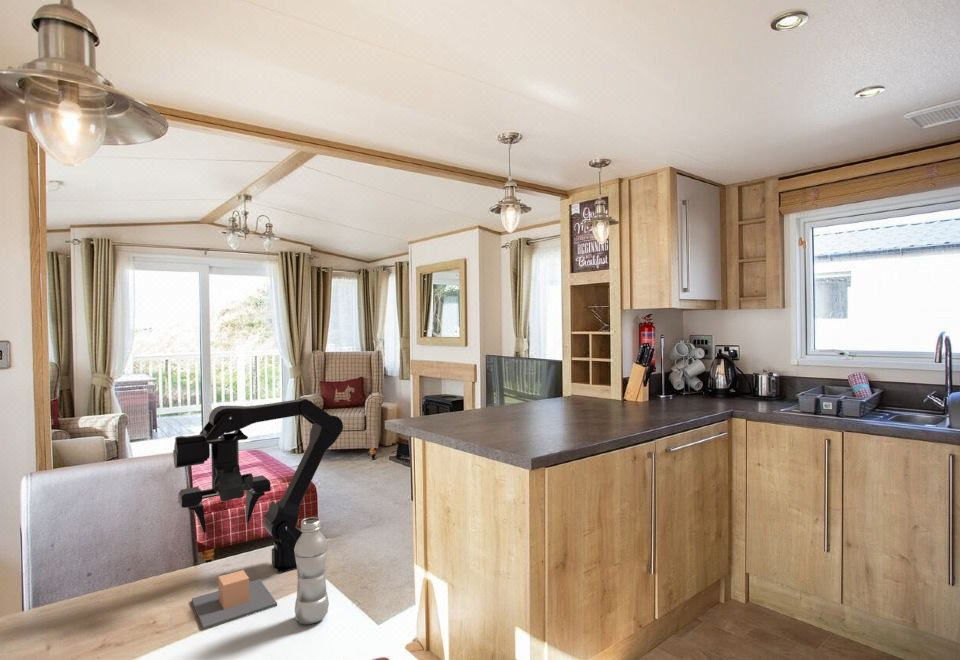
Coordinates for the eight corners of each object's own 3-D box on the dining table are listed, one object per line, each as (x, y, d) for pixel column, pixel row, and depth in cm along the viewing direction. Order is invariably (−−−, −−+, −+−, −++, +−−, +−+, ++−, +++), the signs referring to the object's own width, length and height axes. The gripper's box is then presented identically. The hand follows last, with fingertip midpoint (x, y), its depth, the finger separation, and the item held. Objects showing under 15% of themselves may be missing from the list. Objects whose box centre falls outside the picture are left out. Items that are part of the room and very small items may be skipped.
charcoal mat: (259, 581, 121) (259, 578, 121) (277, 605, 110) (277, 603, 110) (191, 601, 113) (191, 598, 113) (203, 630, 102) (203, 626, 102)
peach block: (243, 592, 115) (243, 569, 115) (249, 601, 111) (248, 578, 111) (218, 599, 112) (218, 576, 112) (223, 609, 108) (223, 585, 108)
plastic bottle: (287, 624, 103) (285, 523, 103) (313, 607, 109) (311, 512, 109) (311, 632, 100) (309, 529, 100) (336, 614, 106) (334, 517, 106)
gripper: (185, 475, 109) (186, 549, 109) (276, 460, 120) (278, 527, 120) (177, 464, 118) (178, 533, 118) (263, 451, 129) (264, 514, 129)
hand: (226, 527), depth 121 cm, fingers open, 9 cm apart
